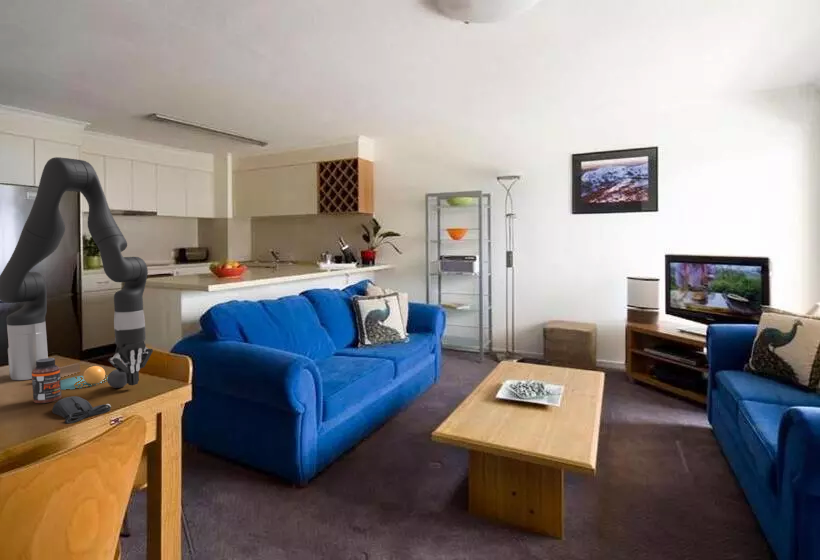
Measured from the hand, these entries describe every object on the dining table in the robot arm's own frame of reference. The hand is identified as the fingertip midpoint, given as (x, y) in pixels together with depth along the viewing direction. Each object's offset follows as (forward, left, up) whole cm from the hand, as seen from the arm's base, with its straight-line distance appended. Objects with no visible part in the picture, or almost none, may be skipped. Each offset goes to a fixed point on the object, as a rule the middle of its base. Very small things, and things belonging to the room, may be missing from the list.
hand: (132, 384), depth 129 cm
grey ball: (-6, 0, +1) cm, 6 cm away
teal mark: (-21, 0, -2) cm, 21 cm away
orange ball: (-15, 0, +1) cm, 15 cm away
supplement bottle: (-14, -14, -2) cm, 20 cm away
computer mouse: (+2, -17, -2) cm, 17 cm away
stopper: (-32, +1, -2) cm, 32 cm away
